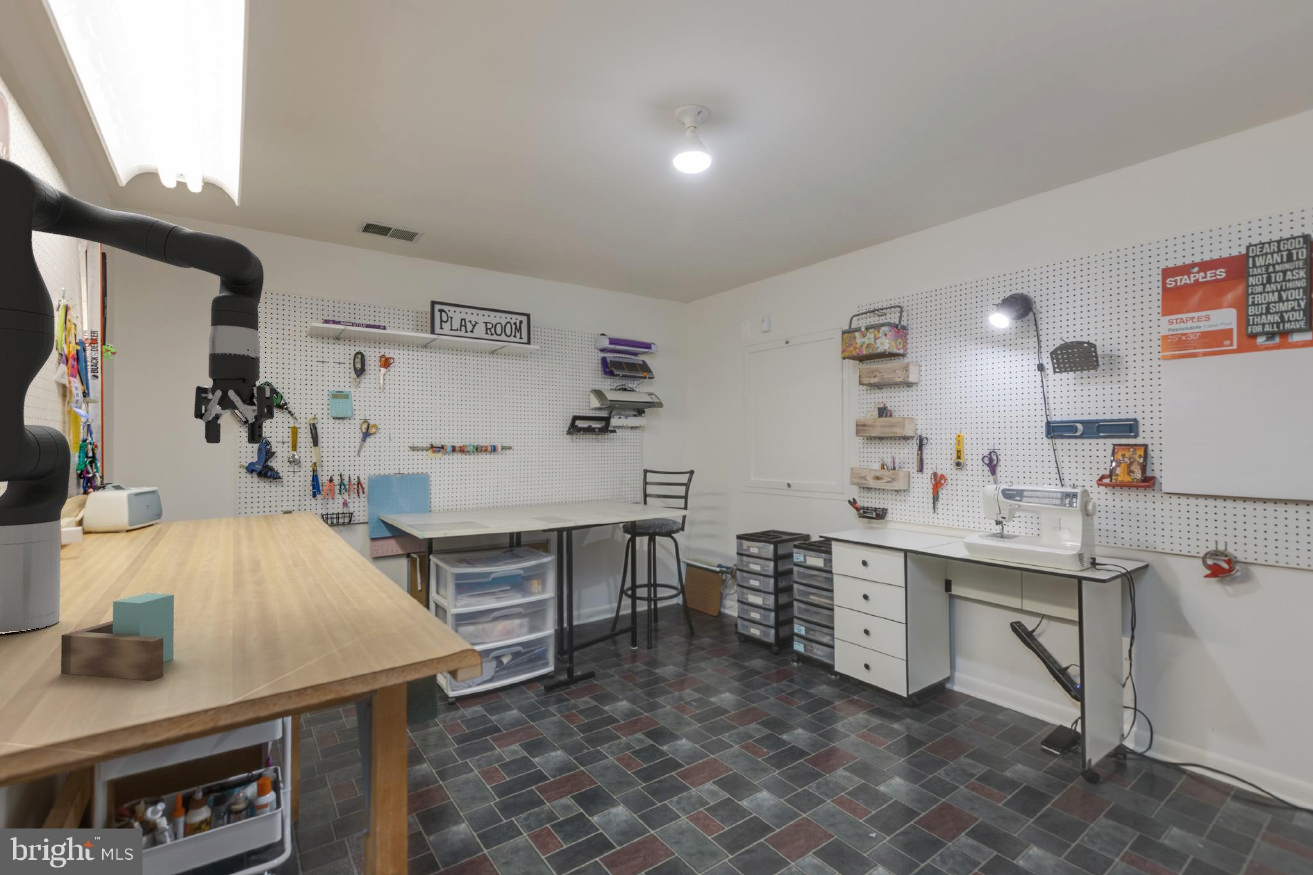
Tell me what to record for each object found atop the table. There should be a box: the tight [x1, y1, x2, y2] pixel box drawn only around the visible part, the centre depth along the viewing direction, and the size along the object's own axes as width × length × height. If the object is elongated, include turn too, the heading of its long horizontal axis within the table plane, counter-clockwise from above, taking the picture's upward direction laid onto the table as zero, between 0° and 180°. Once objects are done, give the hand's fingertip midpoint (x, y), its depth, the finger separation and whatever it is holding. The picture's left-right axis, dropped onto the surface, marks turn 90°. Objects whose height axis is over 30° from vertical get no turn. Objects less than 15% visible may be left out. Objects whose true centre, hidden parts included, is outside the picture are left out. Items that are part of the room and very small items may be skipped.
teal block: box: [112, 592, 175, 663], centre depth 81 cm, size 4×4×9 cm
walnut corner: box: [60, 620, 164, 681], centre depth 81 cm, size 14×10×5 cm
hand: (233, 443), depth 106 cm, fingers open, 8 cm apart
